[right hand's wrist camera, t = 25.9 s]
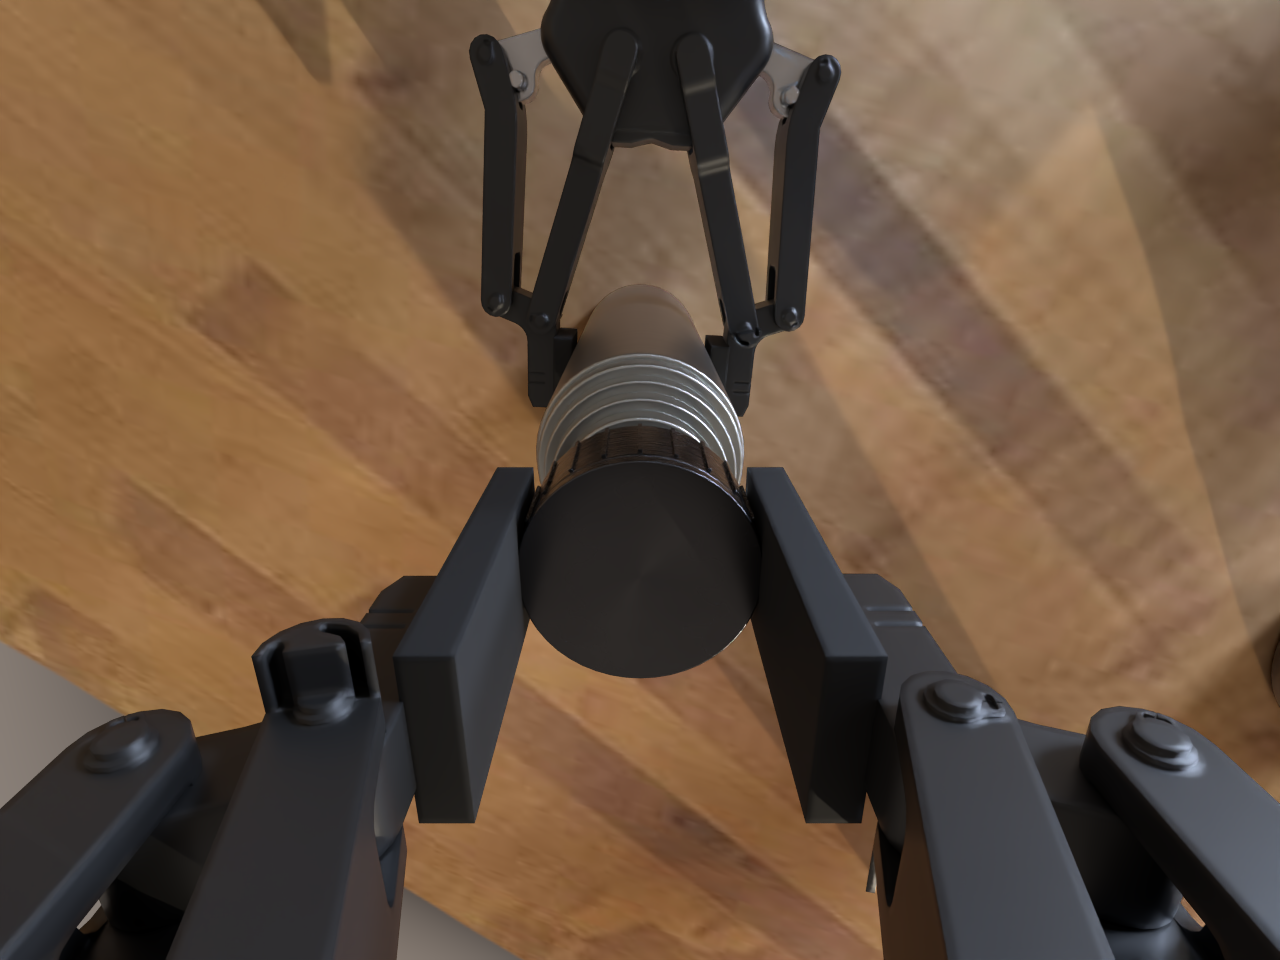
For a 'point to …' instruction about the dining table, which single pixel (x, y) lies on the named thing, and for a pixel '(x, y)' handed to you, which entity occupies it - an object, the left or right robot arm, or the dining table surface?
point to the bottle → (640, 380)
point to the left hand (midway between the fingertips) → (634, 476)
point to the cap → (640, 553)
